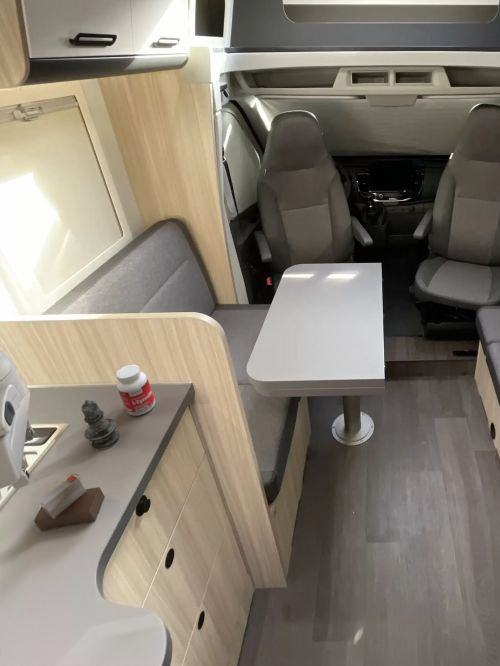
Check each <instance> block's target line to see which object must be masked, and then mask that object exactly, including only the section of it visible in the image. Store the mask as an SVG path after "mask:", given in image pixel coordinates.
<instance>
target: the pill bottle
mask: <svg viewBox="0 0 500 666" xmlns="http://www.w3.org/2000/svg"><path fill="white" fill-rule="evenodd" d="M115 376H116V379H117V382H116V388H117V391H118V393H119V396H120V399H121V401H122V403H123V406H124V408H125V410H126V413H127V414H128V415H131V416H134V417H137V416H142V415H144V414H147V413H148V412H150V411H151V410H152V409H154V407H155V405H156V399H155V396H154V393H153V390H152V387H151V384H150V382H149V379H148V377H147V375H146V374H145V372H143V371H141V368H140V366H139V365H137V364H128V365H125V366H122V367H121V368H120V369H118V370H117V372H116V374H115Z"/></svg>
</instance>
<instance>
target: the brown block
mask: <svg viewBox="0 0 500 666" xmlns="http://www.w3.org/2000/svg"><path fill="white" fill-rule="evenodd" d="M85 490H86V492H85V493H84V494H83V495H81V496H80V497H79V498H78V499H77V500H75V501H74V502H73V503H72V504H71V505H69V506H68V507H67V508H66V509H65V510H64V511H62V512H61V513H60V514H59V515H58V516H56V517H55V518H54V519H52V518H51V517H50V516H48V515H47V513H46V512H45V510H44V509H43V507H42V506H41V505H40V508H39V510H38V512H37V514H36V516H35V518H34V520H33V522H34V523H35V525H36V526H37V528H38V529H39V531H41V532H42V531H47V530H53V529H59V528H65V527H70V526H77V525H83V524H88V523H94V522H96V521H97V519H98V516H99V514H100V510H101V508H102V505H103V503H104V500H105V497H106V496H105V494H104V492H103V491H102V489H101V487H100V486H98V487H97V486H96V487H91V488H85Z"/></svg>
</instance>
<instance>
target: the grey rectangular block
mask: <svg viewBox="0 0 500 666" xmlns="http://www.w3.org/2000/svg"><path fill="white" fill-rule="evenodd" d="M85 489H86V488H85V487H84V485H83V483H82V482H81V480H80V478H79V477H78V476H77V475H75V474H71V475H70V476H69V477H67V478H66V479H65V480H64V481H63V482H62V483H60V484H59V485H58V486H57V487H55V488H54V489H52V491H50V492H49V493H48V494H46V496H44V497H43V498H41V499H40V500H39V501H38V503H39V504H40V507H41V506H42V507H43V509H44V510H45V512H46V513H47V515H48V516H50V517H51V518H52V519H54V518H55V517H56V516H58V515H59V514H60V513H61V512H62V511H64V510H65V509H66V508H67V507H68V506H69V505H71V504H72V503H73V502H74V501H75V500H77V499H78V498H79V497H80V496H81V495H83V494H84V493H85V492H86V490H85Z"/></svg>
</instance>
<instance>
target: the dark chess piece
mask: <svg viewBox="0 0 500 666" xmlns="http://www.w3.org/2000/svg"><path fill="white" fill-rule="evenodd" d="M81 412H82V414H83V416H84V419H83V421H84V422H85V423H87V424H88V427H87V428H86V429H85V431H84V434H83V435H84V438H85V439H86V440H88V441H89V442H91V448H92V449H93V450H95V451H103V450H107V449H109V448H112V447H113V446H114V445H115V444H116V443H118V441H119V439H120V433H119V432H118V431H116V426H117V423H116V420H114V419H113V418H105V412H104V410H102V409H100V406H99V404H98V403H97V401H95V400H88V399H85V401H84V403H82V405H81Z"/></svg>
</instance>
